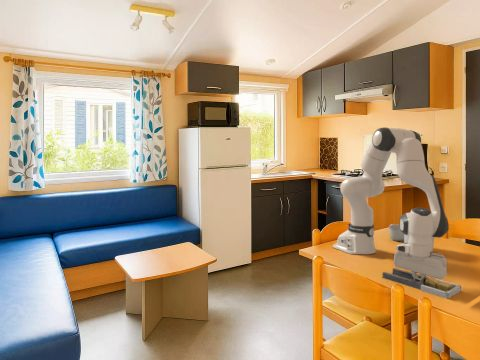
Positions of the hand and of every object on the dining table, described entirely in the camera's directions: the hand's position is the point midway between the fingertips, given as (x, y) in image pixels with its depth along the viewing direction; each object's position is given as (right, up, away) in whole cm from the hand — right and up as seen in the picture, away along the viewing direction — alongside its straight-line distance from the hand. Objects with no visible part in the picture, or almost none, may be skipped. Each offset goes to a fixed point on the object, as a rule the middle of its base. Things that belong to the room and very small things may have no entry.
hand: (418, 282), depth 155 cm
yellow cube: (+6, -2, -8) cm, 10 cm away
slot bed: (-3, -1, +4) cm, 5 cm away
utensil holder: (+22, +4, +48) cm, 53 cm away
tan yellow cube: (+3, -1, -5) cm, 6 cm away
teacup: (+19, +7, +68) cm, 71 cm away
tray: (+5, -2, -7) cm, 9 cm away
